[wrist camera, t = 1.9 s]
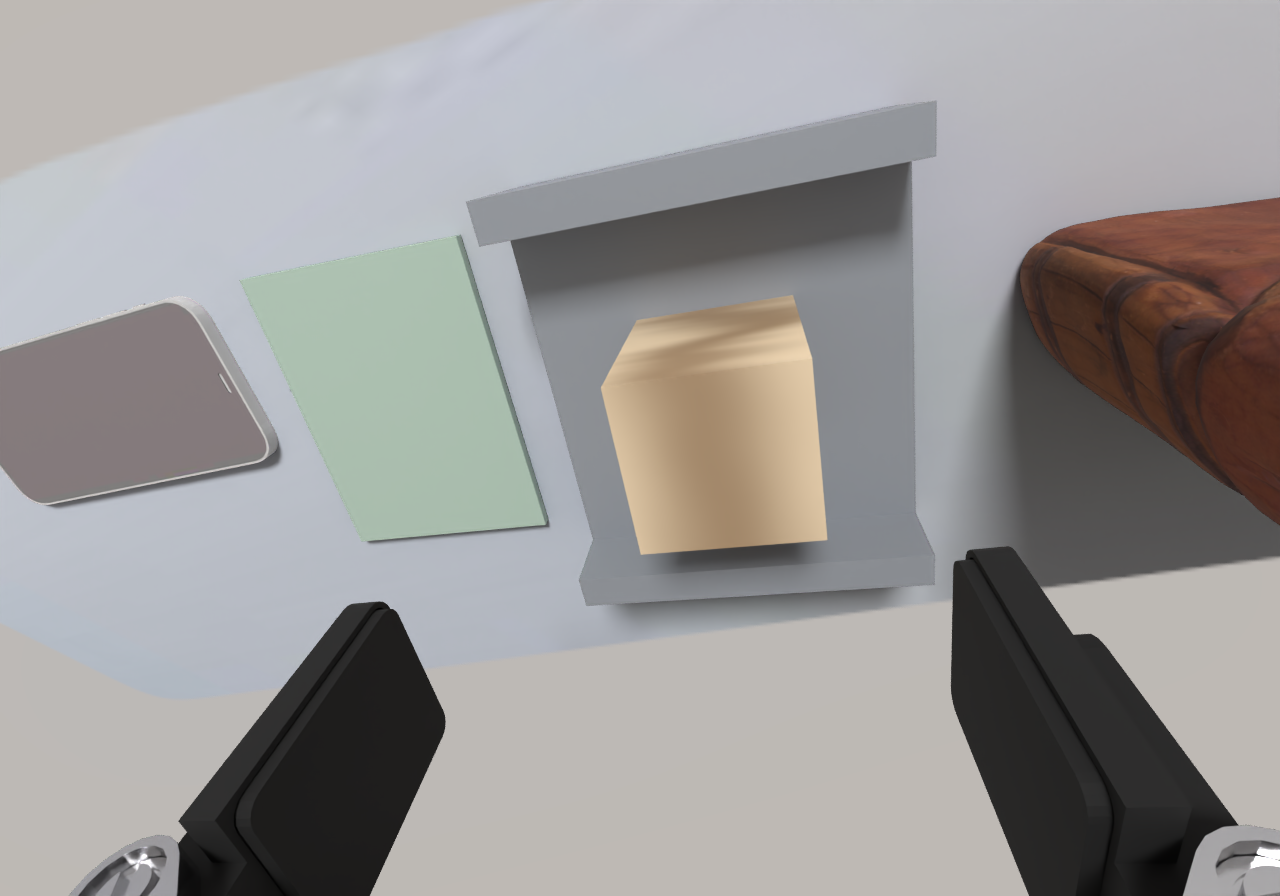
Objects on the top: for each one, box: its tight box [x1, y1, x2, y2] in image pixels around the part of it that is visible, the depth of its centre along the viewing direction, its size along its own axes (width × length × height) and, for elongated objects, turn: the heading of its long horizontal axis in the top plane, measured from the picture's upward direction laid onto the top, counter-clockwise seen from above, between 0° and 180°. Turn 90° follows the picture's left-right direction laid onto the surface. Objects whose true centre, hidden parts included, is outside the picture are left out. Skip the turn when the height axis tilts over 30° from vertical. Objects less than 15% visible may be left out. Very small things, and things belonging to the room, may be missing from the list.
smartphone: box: [0, 296, 278, 505], centre depth 28 cm, size 7×1×15 cm
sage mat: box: [240, 235, 548, 541], centre depth 25 cm, size 9×12×1 cm
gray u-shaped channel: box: [466, 100, 937, 606], centre depth 21 cm, size 12×14×4 cm
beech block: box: [601, 295, 827, 555], centre depth 18 cm, size 5×5×6 cm
